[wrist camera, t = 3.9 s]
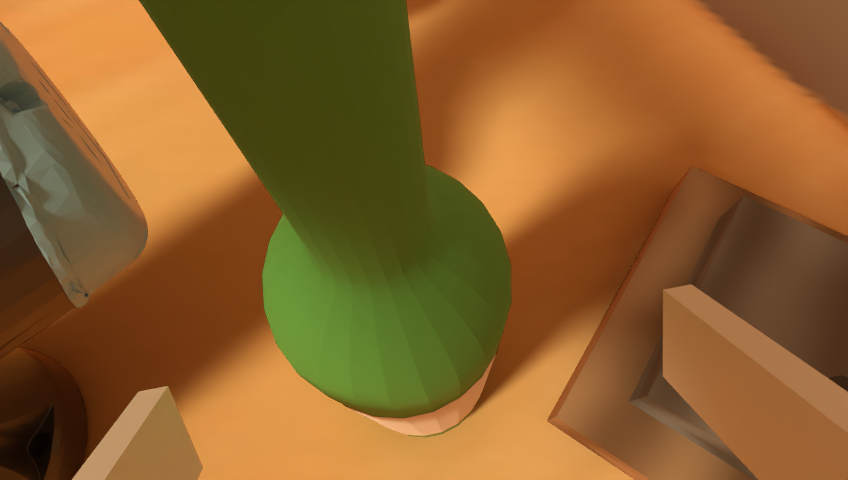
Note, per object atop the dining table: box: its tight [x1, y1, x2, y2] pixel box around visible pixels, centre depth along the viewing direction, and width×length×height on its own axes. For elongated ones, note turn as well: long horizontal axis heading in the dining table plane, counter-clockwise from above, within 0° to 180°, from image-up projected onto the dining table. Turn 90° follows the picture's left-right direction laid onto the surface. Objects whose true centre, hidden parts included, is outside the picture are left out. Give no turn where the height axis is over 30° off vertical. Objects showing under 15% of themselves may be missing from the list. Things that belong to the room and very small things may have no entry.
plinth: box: [547, 166, 848, 480], centre depth 28 cm, size 20×20×6 cm
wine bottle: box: [139, 0, 511, 437], centre depth 18 cm, size 8×8×30 cm
